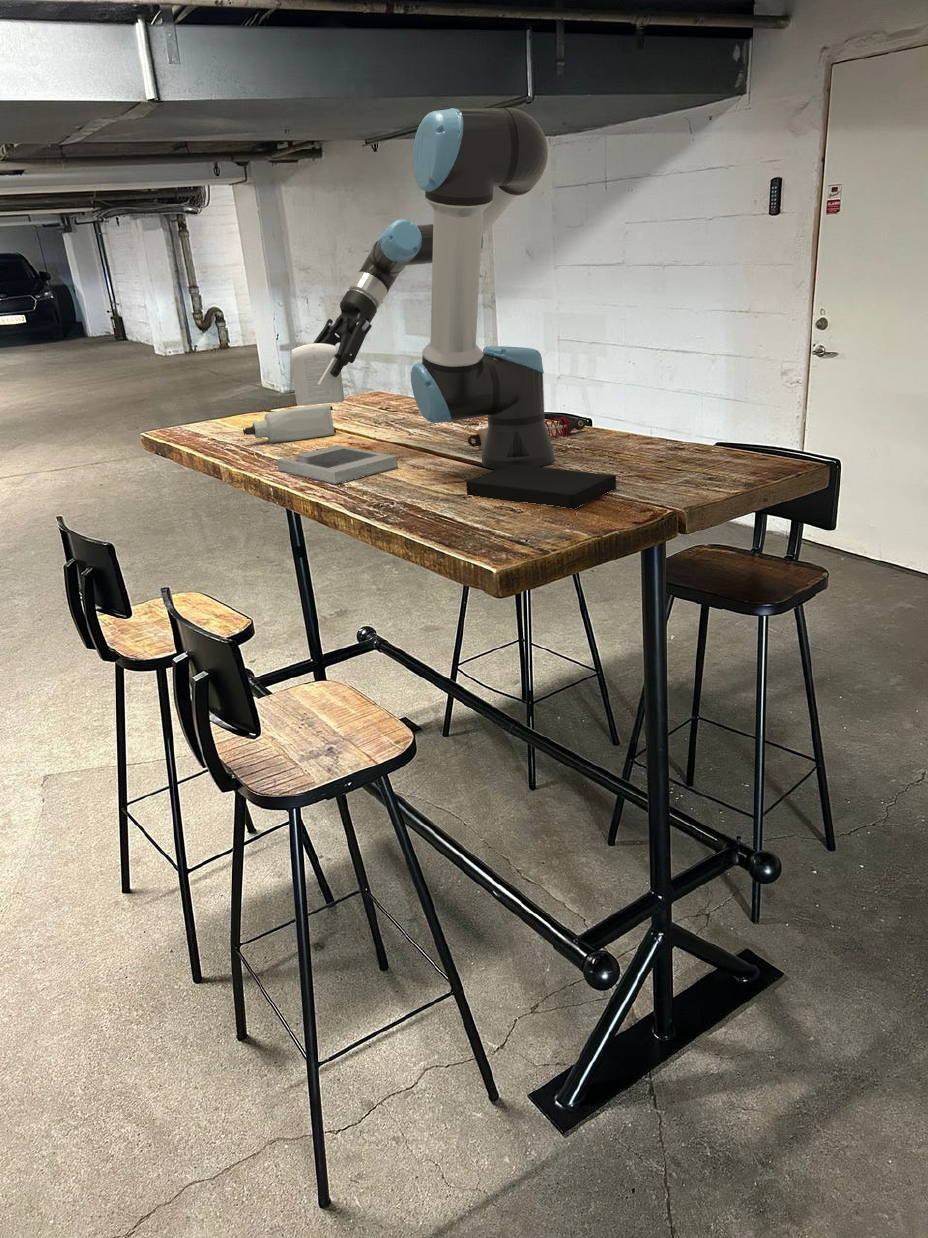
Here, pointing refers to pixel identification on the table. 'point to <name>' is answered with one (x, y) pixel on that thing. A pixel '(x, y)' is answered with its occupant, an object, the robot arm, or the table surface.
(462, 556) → the table surface
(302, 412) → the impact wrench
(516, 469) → the external hard drive
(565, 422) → the shock absorber
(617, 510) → the table surface
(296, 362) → the photo printer
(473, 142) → the robot arm
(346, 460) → the plate
